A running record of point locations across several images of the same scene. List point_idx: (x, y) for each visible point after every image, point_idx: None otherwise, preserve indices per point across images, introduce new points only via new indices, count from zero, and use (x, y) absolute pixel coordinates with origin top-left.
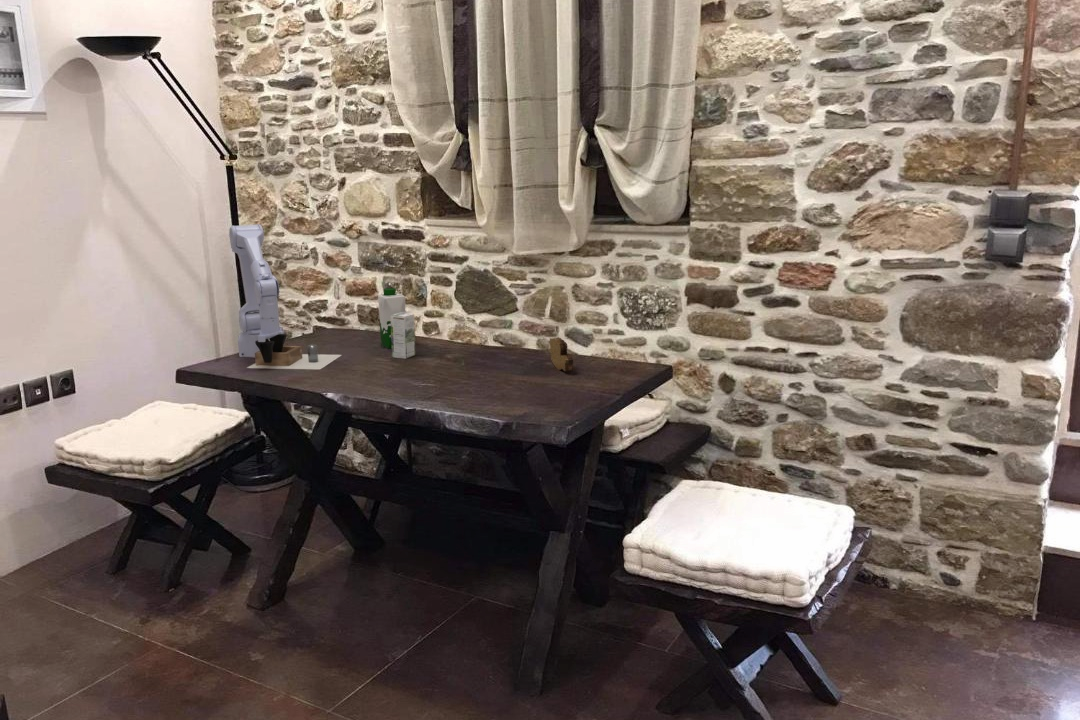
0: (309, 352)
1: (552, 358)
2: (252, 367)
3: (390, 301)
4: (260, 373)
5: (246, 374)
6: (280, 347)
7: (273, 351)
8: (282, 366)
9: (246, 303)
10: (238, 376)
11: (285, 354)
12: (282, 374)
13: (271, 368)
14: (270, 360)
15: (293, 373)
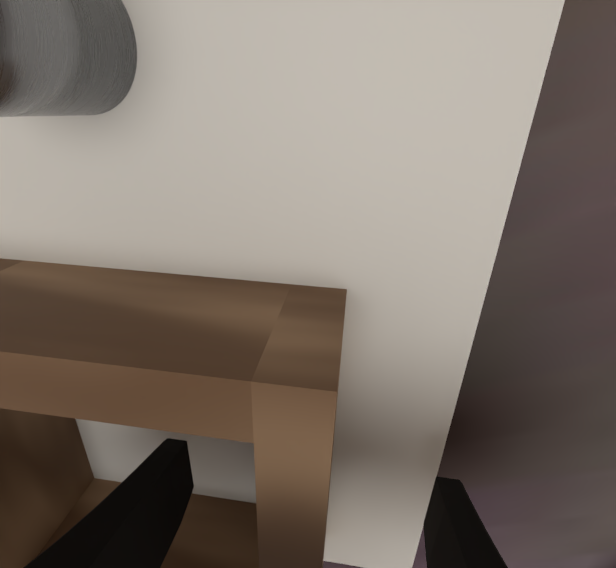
0: (10, 48)
1: None
2: (398, 547)
3: None
4: (478, 463)
5: (496, 534)
6: (110, 555)
7: (164, 555)
8: (369, 349)
9: None
10: (553, 564)
11: (334, 417)
12: (566, 280)
13: (449, 423)
14: (471, 506)
15: (541, 167)
